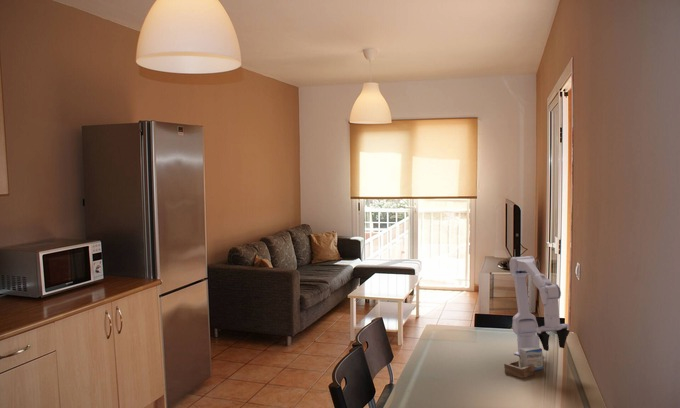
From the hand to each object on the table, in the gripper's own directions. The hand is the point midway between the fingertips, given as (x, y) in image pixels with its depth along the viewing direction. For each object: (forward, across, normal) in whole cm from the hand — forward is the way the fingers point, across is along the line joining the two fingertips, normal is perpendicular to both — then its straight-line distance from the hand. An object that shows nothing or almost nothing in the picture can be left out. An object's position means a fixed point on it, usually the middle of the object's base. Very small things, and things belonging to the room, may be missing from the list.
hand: (554, 348), depth 217 cm
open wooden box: (+10, -12, +6) cm, 17 cm away
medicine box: (+10, -5, +8) cm, 14 cm away
